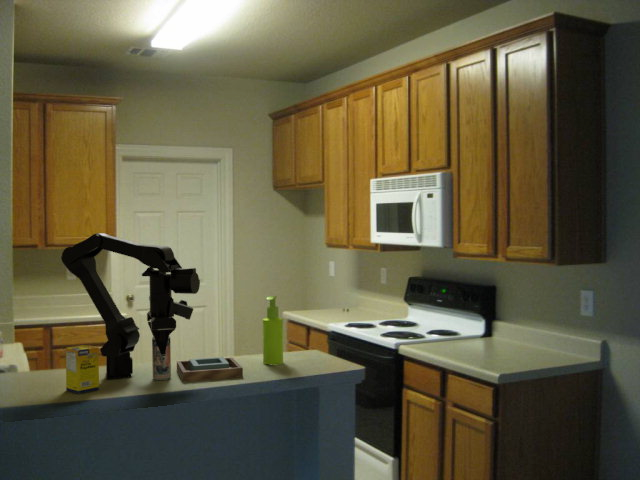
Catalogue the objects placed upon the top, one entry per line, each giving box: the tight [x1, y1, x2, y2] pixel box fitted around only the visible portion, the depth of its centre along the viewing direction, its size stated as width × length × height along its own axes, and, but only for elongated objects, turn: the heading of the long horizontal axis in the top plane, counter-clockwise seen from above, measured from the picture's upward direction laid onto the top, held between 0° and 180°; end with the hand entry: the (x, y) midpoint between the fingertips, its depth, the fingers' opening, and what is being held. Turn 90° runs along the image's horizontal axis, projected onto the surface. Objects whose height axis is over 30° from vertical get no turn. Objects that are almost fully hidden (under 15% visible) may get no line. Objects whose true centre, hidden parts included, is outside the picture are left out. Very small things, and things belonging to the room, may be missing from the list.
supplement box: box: [65, 344, 100, 395], centre depth 172 cm, size 6×6×11 cm
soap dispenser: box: [262, 295, 284, 366], centre depth 203 cm, size 6×7×20 cm
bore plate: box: [189, 356, 229, 371], centre depth 190 cm, size 10×10×3 cm
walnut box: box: [176, 356, 244, 383], centre depth 190 cm, size 16×15×2 cm
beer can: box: [151, 335, 172, 381], centre depth 184 cm, size 5×5×12 cm
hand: (161, 350), depth 184 cm, fingers open, 9 cm apart
